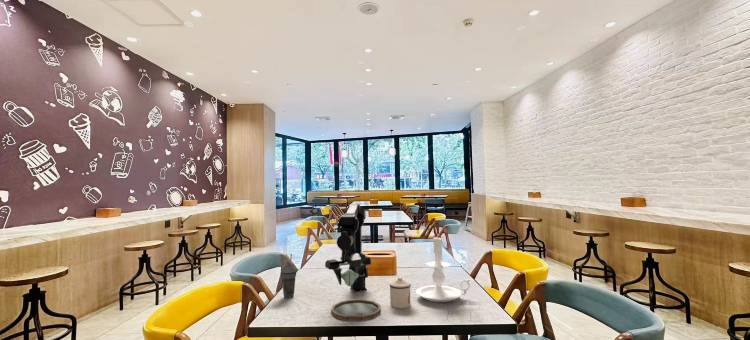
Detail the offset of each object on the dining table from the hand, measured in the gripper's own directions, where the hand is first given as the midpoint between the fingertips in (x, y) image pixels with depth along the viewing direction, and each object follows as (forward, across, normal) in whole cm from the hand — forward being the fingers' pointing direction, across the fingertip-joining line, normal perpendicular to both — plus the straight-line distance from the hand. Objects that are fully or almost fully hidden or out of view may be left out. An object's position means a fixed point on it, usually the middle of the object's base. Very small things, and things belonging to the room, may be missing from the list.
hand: (348, 283), depth 139 cm
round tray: (+11, +2, -3) cm, 11 cm away
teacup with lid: (+11, +22, -4) cm, 25 cm away
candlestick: (+11, +43, -9) cm, 45 cm away
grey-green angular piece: (+1, 0, 0) cm, 1 cm away
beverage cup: (+11, -17, +30) cm, 37 cm away
